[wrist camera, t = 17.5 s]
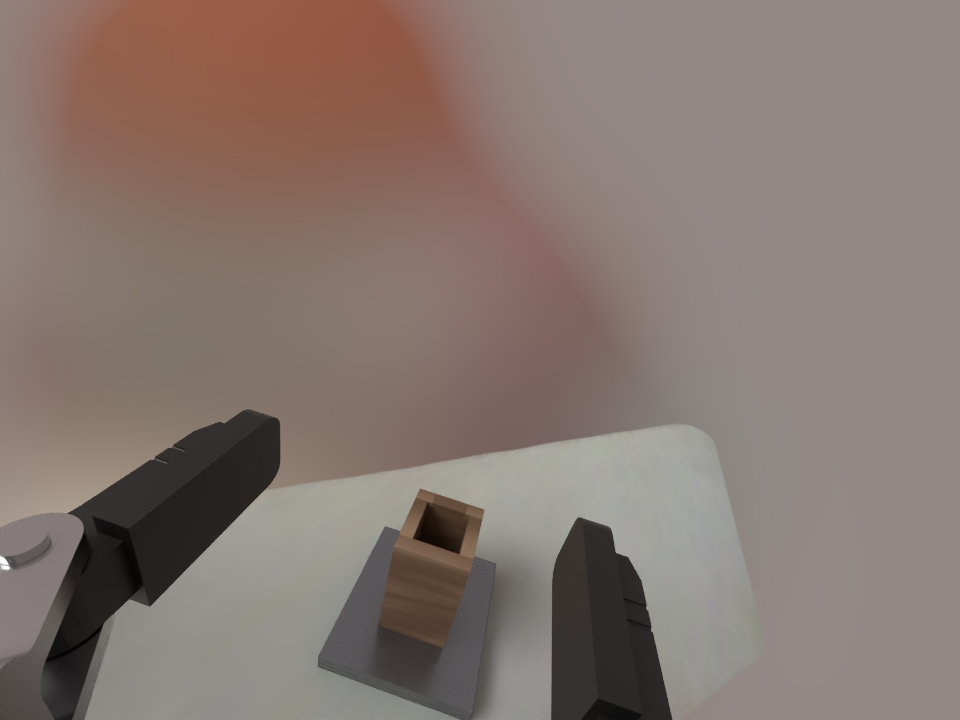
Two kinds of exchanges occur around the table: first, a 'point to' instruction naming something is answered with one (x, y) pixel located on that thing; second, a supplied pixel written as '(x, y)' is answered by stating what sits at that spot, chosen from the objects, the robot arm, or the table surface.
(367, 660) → the base plate
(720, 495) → the table surface
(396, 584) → the sleeve
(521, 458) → the table surface
